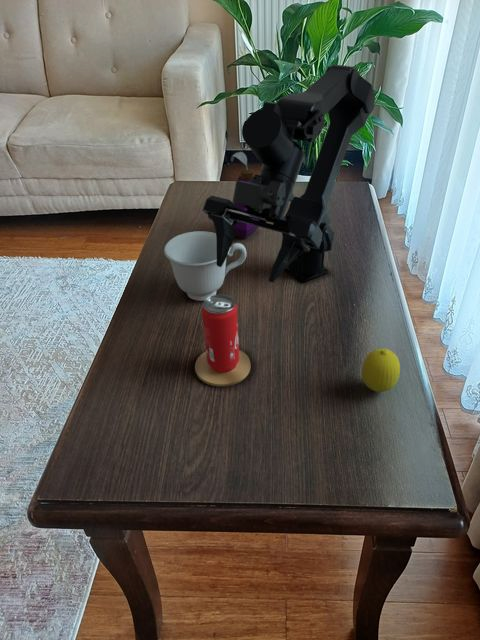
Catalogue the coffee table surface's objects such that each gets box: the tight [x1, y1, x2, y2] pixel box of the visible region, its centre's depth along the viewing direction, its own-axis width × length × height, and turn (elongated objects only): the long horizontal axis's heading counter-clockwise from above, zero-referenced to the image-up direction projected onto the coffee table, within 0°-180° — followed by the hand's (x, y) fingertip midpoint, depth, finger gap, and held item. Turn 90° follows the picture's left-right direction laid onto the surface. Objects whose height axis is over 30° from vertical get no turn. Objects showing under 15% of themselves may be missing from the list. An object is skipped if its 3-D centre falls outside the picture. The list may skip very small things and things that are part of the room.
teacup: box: [163, 230, 247, 302], centre depth 98 cm, size 12×15×10 cm
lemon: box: [361, 347, 401, 393], centre depth 78 cm, size 6×6×8 cm
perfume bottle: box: [230, 151, 259, 240], centre depth 113 cm, size 8×8×18 cm
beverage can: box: [201, 294, 240, 373], centre depth 81 cm, size 5×5×12 cm
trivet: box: [194, 349, 252, 388], centre depth 85 cm, size 9×9×1 cm
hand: (244, 274), depth 81 cm, fingers open, 9 cm apart
